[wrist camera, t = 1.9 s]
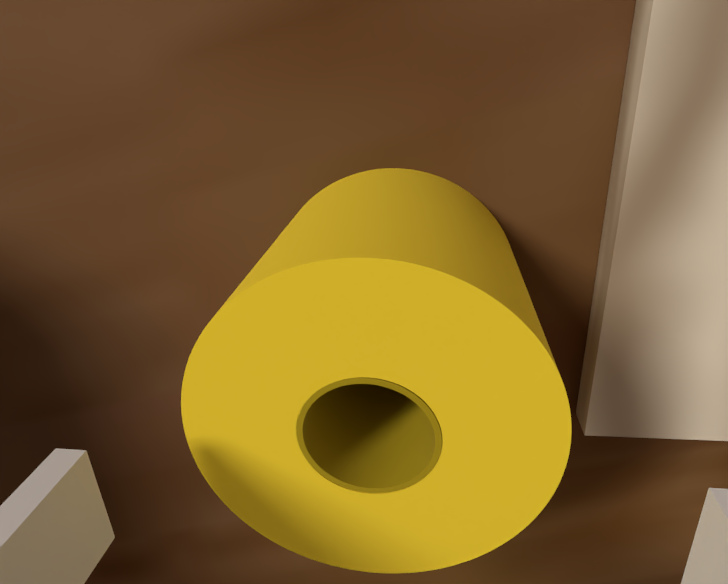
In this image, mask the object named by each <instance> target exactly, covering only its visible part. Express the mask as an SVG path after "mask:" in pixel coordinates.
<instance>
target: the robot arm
mask: <svg viewBox="0 0 728 584" xmlns="http://www.w3.org/2000/svg"><path fill="white" fill-rule="evenodd" d="M114 538H115V535H114V532H113V529H112V526H111V523H110V520H109V517H108V514H107V511H106V508H105V505H104V502H103V499H102V496H101V493H100V490H99V487H98V484H97V481H96V478H95V475H94V472H93V469H92V466H91V463H90V460H89V457H88V454H87V451H86V450H74V449H58V448H56V449H55V450H54V451H53V452H52V453H51V454H50V455H49V456H48V457H47V458H46V459H45V460H44V461H43V462H42V463H41V464H40V465H39V466H38V467H37V468H36V469H35V470H34V471H33V473H32V474H31V475H30V476H29V477H28V478H27V479H26V480H25V481H24V482H23V483H22V484H21V485H20V486H19V487H18V488H17V489H16V490H15V491H14V492H13V493H12V494H11V495H10V496H9V497H8V498H7V499H6V501H5V502H4V503H3V504H2V505H1V506H0V584H84V583H85V582H86V580H87V579H88V577H89V576H90V574H91V573H92V571H93V570H94V568H95V567H96V565H97V564H98V562H99V561H100V559H101V558H102V556H103V555H104V553H105V552H106V550H107V549H108V547H109V546H110V544H111V543H112V541H113V540H114ZM681 584H728V489H720V488H709V489H708V492H707V496H706V499H705V503H704V506H703V509H702V513H701V516H700V520H699V523H698V527H697V530H696V533H695V537H694V540H693V544H692V547H691V550H690V554H689V557H688V561H687V564H686V567H685V571H684V574H683V578H682V581H681Z"/></svg>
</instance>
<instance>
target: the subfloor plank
mask: <svg viewBox="0 0 728 584" xmlns="http://www.w3.org/2000/svg"><path fill="white" fill-rule="evenodd" d="M576 415H577V418H578V420H579V423H580V425H581V428H582V431H583V433H584V435H586V436H612V437H637V438H663V439H689V440H714V441H728V0H636V6H635V13H634V20H633V27H632V33H631V40H630V47H629V54H628V61H627V67H626V74H625V81H624V88H623V95H622V102H621V108H620V115H619V122H618V129H617V136H616V142H615V149H614V156H613V163H612V170H611V176H610V183H609V190H608V197H607V204H606V210H605V217H604V224H603V231H602V238H601V245H600V251H599V258H598V265H597V272H596V279H595V285H594V292H593V299H592V306H591V313H590V319H589V326H588V333H587V340H586V347H585V353H584V360H583V367H582V374H581V381H580V388H579V394H578V401H577V408H576Z"/></svg>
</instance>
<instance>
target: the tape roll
mask: <svg viewBox="0 0 728 584" xmlns="http://www.w3.org/2000/svg"><path fill="white" fill-rule="evenodd" d="M181 412H182V420H183V426H184V431H185V435H186V439H187V442H188V445H189V448H190V450H191V453H192V455H193V458H194V460H195V462H196V464H197V466H198V468H199V470H200V471H201V473H202V475H203V476H204V478H205V479H206V481H207V482H208V484H209V485H210V487H211V488H212V489H213V491H214V492H215V493H216V494H217V496H218V497H219V498H220V499H221V500H222V501H223V502H224V504H225V505H226V506H227V507H228V508H229V509H230V510H231V511H232V512H233V513H235V514H236V515H237V516H238V517H239V518H240V519H241V520H243V521H244V522H245V523H246V524H248V525H249V526H250V527H252V528H253V529H254V530H256V531H257V532H259V533H260V534H262V535H263V536H265V537H266V538H268V539H270V540H271V541H273V542H275V543H277V544H278V545H280V546H282V547H284V548H286V549H288V550H290V551H293V552H295V553H297V554H299V555H302V556H304V557H307V558H310V559H312V560H315V561H318V562H322V563H325V564H328V565H332V566H336V567H341V568H345V569H351V570H357V571H364V572H374V573H413V572H422V571H429V570H435V569H440V568H445V567H449V566H453V565H456V564H460V563H463V562H466V561H469V560H471V559H474V558H477V557H479V556H481V555H483V554H486V553H488V552H490V551H492V550H494V549H495V548H497V547H499V546H501V545H502V544H504V543H505V542H507V541H509V540H510V539H511V538H513V537H514V536H516V535H517V534H518V533H519V532H521V531H522V530H523V529H524V528H525V527H527V526H528V525H529V524H530V523H531V522H532V521H533V520H534V519H535V518H536V517H537V516H538V515H539V513H540V512H541V511H542V510H543V509H544V507H545V506H546V505H547V503H548V502H549V500H550V499H551V497H552V496H553V494H554V492H555V491H556V489H557V487H558V485H559V483H560V481H561V478H562V476H563V473H564V471H565V468H566V465H567V461H568V457H569V452H570V446H571V434H572V425H571V413H570V406H569V401H568V397H567V393H566V390H565V387H564V384H563V381H562V379H561V376H560V373H559V371H558V368H557V366H556V363H555V361H554V358H553V355H552V353H551V350H550V348H549V345H548V342H547V340H546V337H545V335H544V332H543V330H542V327H541V324H540V322H539V319H538V317H537V314H536V311H535V309H534V306H533V304H532V301H531V299H530V296H529V293H528V291H527V288H526V286H525V283H524V280H523V278H522V275H521V273H520V270H519V268H518V265H517V262H516V260H515V257H514V255H513V252H512V249H511V247H510V244H509V242H508V240H507V237H506V235H505V233H504V231H503V230H502V228H501V226H500V225H499V223H498V222H497V220H496V219H495V217H494V216H493V215H492V214H491V212H490V211H489V210H488V209H487V208H486V207H485V206H484V205H483V204H482V203H481V202H480V201H479V200H478V199H477V198H475V197H474V196H473V195H472V194H470V193H469V192H467V191H466V190H464V189H463V188H461V187H460V186H458V185H456V184H454V183H452V182H450V181H448V180H446V179H444V178H441V177H439V176H436V175H433V174H429V173H426V172H422V171H417V170H410V169H400V168H386V169H376V170H369V171H365V172H360V173H357V174H354V175H351V176H348V177H345V178H343V179H341V180H338V181H336V182H334V183H333V184H331V185H329V186H327V187H326V188H324V189H323V190H321V191H320V192H319V193H317V194H316V195H315V196H314V197H312V198H311V199H310V200H309V201H308V202H307V203H306V204H305V205H304V206H303V207H302V208H301V210H300V211H299V212H298V213H297V214H296V216H295V217H294V218H293V219H292V221H291V222H290V223H289V224H288V226H287V227H286V228H285V229H284V230H283V232H282V233H281V234H280V235H279V237H278V238H277V239H276V240H275V242H274V243H273V244H272V245H271V247H270V248H269V249H268V250H267V252H266V253H265V254H264V255H263V256H262V258H261V259H260V260H259V261H258V263H257V264H256V265H255V266H254V268H253V269H252V270H251V271H250V273H249V274H248V275H247V276H246V277H245V279H244V280H243V281H242V282H241V284H240V285H239V286H238V287H237V289H236V290H235V291H234V292H233V294H232V295H231V296H230V297H229V298H228V300H227V301H226V302H225V303H224V305H223V306H222V307H221V308H220V310H219V311H218V312H217V313H216V315H215V316H214V317H213V318H212V319H211V321H210V322H209V323H208V325H207V326H206V327H205V329H204V330H203V332H202V333H201V335H200V336H199V338H198V340H197V342H196V343H195V345H194V347H193V349H192V352H191V354H190V357H189V359H188V362H187V365H186V369H185V373H184V377H183V383H182V392H181Z"/></svg>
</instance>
